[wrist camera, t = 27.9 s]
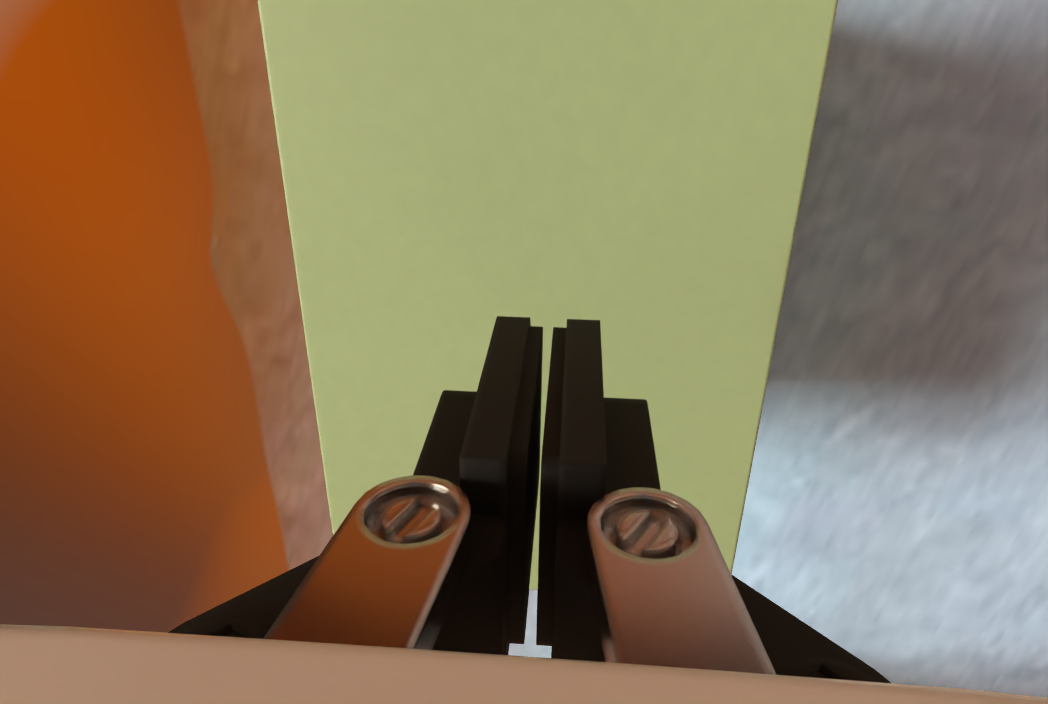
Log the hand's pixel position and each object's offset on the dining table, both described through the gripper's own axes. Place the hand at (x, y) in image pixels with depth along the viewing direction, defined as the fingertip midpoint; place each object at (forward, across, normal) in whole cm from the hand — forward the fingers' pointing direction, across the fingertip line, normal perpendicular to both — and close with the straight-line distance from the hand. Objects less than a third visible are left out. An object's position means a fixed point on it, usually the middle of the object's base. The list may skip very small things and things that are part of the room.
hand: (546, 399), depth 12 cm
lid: (+6, 0, +2) cm, 7 cm away
